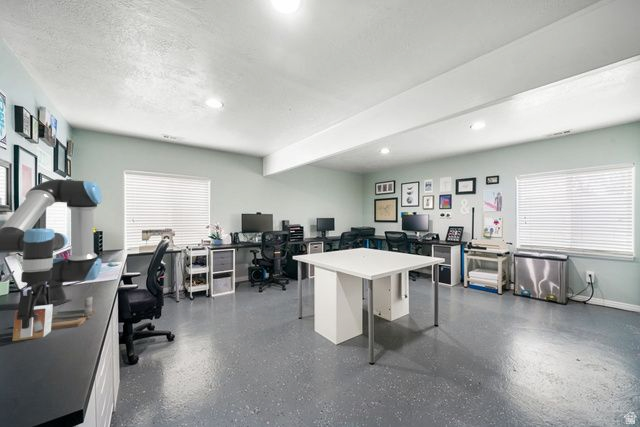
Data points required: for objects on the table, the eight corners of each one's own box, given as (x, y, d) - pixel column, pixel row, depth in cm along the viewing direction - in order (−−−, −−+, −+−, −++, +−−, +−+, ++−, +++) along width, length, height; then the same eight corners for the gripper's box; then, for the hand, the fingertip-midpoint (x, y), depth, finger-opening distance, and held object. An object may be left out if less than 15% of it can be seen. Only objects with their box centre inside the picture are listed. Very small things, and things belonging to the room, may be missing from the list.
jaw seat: (50, 317, 110) (51, 296, 111) (98, 311, 118) (99, 292, 118) (24, 333, 94) (26, 308, 95) (82, 325, 101) (83, 302, 102)
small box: (11, 342, 87) (14, 311, 88) (21, 335, 92) (23, 306, 93) (43, 337, 91) (45, 308, 91) (51, 331, 96) (53, 303, 96)
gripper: (39, 266, 101) (36, 323, 100) (2, 276, 82) (-2, 346, 81) (64, 265, 104) (61, 320, 103) (34, 274, 85) (30, 342, 84)
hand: (33, 332), depth 92 cm, fingers open, 8 cm apart
